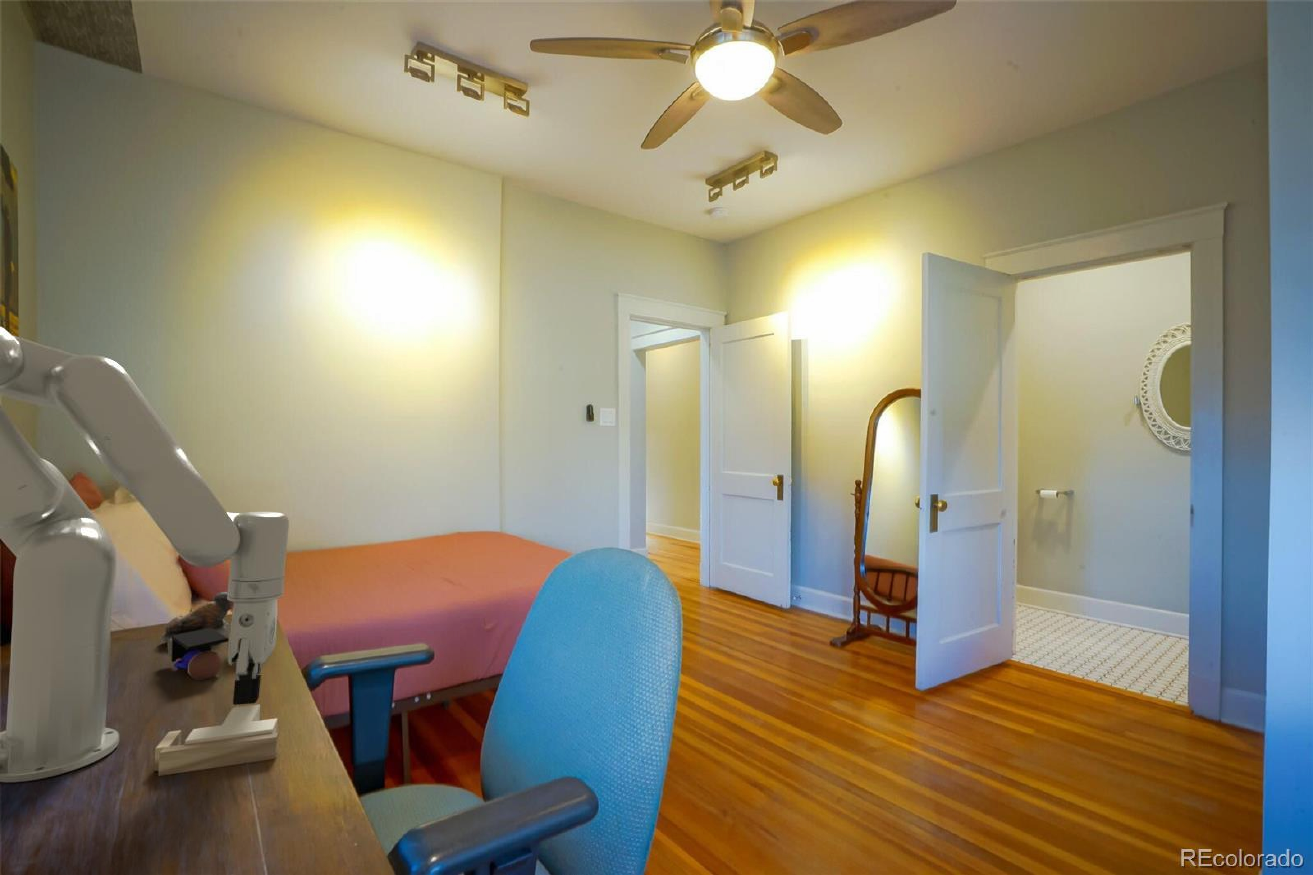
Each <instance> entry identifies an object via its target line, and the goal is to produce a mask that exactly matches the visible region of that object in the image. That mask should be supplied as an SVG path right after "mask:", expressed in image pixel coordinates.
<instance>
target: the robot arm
mask: <svg viewBox="0 0 1313 875" xmlns="http://www.w3.org/2000/svg"><path fill="white" fill-rule="evenodd" d="M0 396H3V397H8V398H12V399H14V400H17V401H21V402H22V401H23V402H26V403H29V404H33V405H36V406H37V405H39V406H42V407H47V408H49V409H50V408H51V409H55V410H60V411H62V412H63V414H64V415H65V416H66V417H67V419H68V420H69V421H70V422H71V423H72V425H73V426H74V427H75V429H76V430H77V431H78V433H79V434H80V435H81V436H82V438H83V439H84V440H85V442H86V443H87V444H88V445H89V447H90V448H91V449H92V451H93V452H94V453H95V455H96V456H97V458H99V460H100V461H101V463H102V464H103V465H104V466H105V468H106V469H107V470H108V471H109V473H110V474H111V475H112V476H113V478H114V479H115V480H116V481H117V483H118V484H120V485H121V486H122V488H124V489H125V491H128V493H129V494H130V495H131V496H133V498H134V499H136V501H137V502H138V503H139V504H140V505H141V506H142V508H143V509H144V510H145V511H146V513H147V514H148V515H149V516H150V517H151V519H152V521H154V522H155V524H156V525H157V526H158V528H159V529H160V531H161V532H162V533H163V535H164V536H165V537H166V538H167V540H168V541H169V542H170V544H171V546H172V548H173V549H174V550H175V552H176V553H177V554H178V555H179V556H180V558H182V560H184V561H185V562H186V563H188V564H190V565H192V566H195V567H203V568H205V567H206V568H210V567H216V566H219V565H220V564H223V563H225V562H227V561H229V559H230V563H229V564H230V565H229V576H228V584H227V592H228V596H227V599H228V600H229V601H232V602H231V603H233V607H232V614H231V623H230V631H229V637H228V648H227V649H228V650H227V651H228V652H227V663H228V665H230V666H232V667H233V666H235V665H236V666H235V679H234V686H233V698H232V704H233V705H234V706H237V705H239V706H240V705H251V704H255V703H257V701H258V700H259V698H260V690H261V689H260V688H261V678H262V675H261V673H262V672H261V670H262V664H263V663H265V662H266V661H267V660H268V658H269V657H270V656H271V654H272V653H273V651H274V650H275V647H276V644H277V642H276V641H277V625H278V624H277V623H278V600H279V599H280V598H282V597H283V594H284V584H285V575H286V574H285V571H286V562H287V550H288V549H287V548H288V539H289V528H290V527H289V526H290V521H289V518H288V516H287V515H286V514H284V513H282V512H275V511H249V512H243V513H237V512H235V513H234V512H227V511H226V509H225V508H224V506H223V505H222V503H221V502H220V501H219V500H218V498H217V497H216V495H215V493H213V491H212V490H211V488H210V487H209V485H207V483H206V482H205V481H204V479H203V478H202V477H201V475H200V474H199V472H198V471H197V470H196V467H195V466H194V465H193V464H192V462H191V460H190V459H189V457H188V456H187V454H186V453H185V451H184V450H183V449H182V446H180V445H179V443H178V441H177V440H176V439H175V437H174V436H173V434H172V433H171V432H170V430H169V429H168V428H167V426H166V425H165V424H164V422H163V421H162V420H161V418H160V417H159V416H158V414H157V413H156V411H155V410H154V409H153V407H152V406H151V404H150V403H149V401H148V400H147V398H146V396H144V394H143V393H142V391H141V389H140V388H138V386H137V385H136V383H135V381H134V380H133V379H132V377H131V375H130V374H128V372H127V371H126V370H125V368H124V367H122V366H121V365H120V364H118V362H116V361H114V360H112V359H110V358H108V357H105V356H100V355H98V354H97V355H96V354H95V355H94V354H81V355H79V354H78V355H77V354H74V353H70V352H67V351H64V350H61V349H57V348H53V347H50V346H49V345H48V346H46V345H44V344H41V343H37V342H34V341H32V340H28V339H25V338H22V337H20V336H16V335H12V334H11V333H10V332H8V330H6V329H5V328H4V327H2V326H0ZM0 540H1V541H2V542H3V543H4V544H5V546H6V547H7V548H8V549H9V550H10V551H11V553H13V555H14V556H15V557H16V560H15V564H14V569H13V570H14V571H13V584H12V585H13V588H12V591H13V592H12V593H13V594H12V595H13V596H12V624H11V625H12V626H11V639H10V640H11V641H10V642H11V643H10V664H9V681H8V696H7V714H6V727H5V730H3V731H0V783H23V782H31V781H37V780H42V779H47V778H50V777H55V776H58V775H61V774H65V773H68V772H72V771H75V770H78V769H80V768H83V767H87V766H88V765H90V764H93V763H95V762H96V761H99V760H101V759H102V758H104V757H105V756H108V755H109V754H110V753H112V752H113V751H114V750H115V748H116V749H117V747H118V745H119V743H120V733H119V731H117V730H116V729H114V728H109V727H106V720H107V719H106V717H107V702H108V701H107V700H108V699H107V698H108V684H109V668H110V666H109V665H110V664H109V663H110V651H111V650H110V649H111V648H110V647H111V628H112V627H111V625H112V612H113V597H114V588H115V580H116V579H115V578H116V572H117V554H116V548H115V546H114V543H113V540H112V538H111V537H110V535H109V533H108V531H107V530H106V529H105V528H104V526H103V525H102V524H101V523H100V521H99V520H98V518H97V517H96V516H95V515H94V513H93V512H92V511H91V509H90V508H89V507H88V506H87V504H86V503H85V502H84V501H83V500H82V498H81V496H79V494H78V493H77V491H76V490H75V489H74V487H73V486H72V485H71V484H70V482H69V481H68V480H67V478H66V477H65V475H63V472H61V471H60V470H59V469H58V467H56V466H55V465H54V464H52V463H51V462H49V461H48V460H46V459H44V458H41V456H40V455H39V454H38V453H37V451H35V449H34V448H33V447H32V446H31V444H29V442H28V441H27V439H26V438H25V437H24V436H23V435H22V433H21V432H20V430H19V429H18V427H17V426H16V425H15V423H14V421H13V420H12V419H11V418H10V417H9V415H8V414H7V413H6V411H5V410H4V408H2V406H1V405H0Z"/></svg>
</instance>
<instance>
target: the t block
mask: <svg viewBox="0 0 1313 875" xmlns="http://www.w3.org/2000/svg"><path fill="white" fill-rule="evenodd" d="M260 713H261V704H253V705H251V704H250V705H243V706H237V707H236V706H235V707H231V710H230V712H229V713H228V714H227V717H226V718H225V720H224V721H223V722H222V724H220V725H214V726H213V725H212V726H206V727H199V728H193V729H192V731H191V732H190V733H189V735H188V736H187V738H186V739H185V740H184V744H192V743H199V742H207V741H214V740H222V739H229V738H237V737H244V736H252V735H260V734H267V733H275V732H278V718H269V719H262V720H260V715H261V714H260Z"/></svg>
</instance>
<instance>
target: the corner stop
mask: <svg viewBox="0 0 1313 875" xmlns="http://www.w3.org/2000/svg"><path fill="white" fill-rule="evenodd" d="M279 733H280V732H279V731H277V732H275V733H267V734H260V735H252V736H244V737H237V738H229V739H222V740H214V741H207V742H199V743H192V744H185V743H184V744H182V742H181V741H182V729H181V730H173V731H168V732H167V733H166V735H165V736H164V737H163V739H161V741H160V742H159V743H158V744H157V746H156V747H155V753H154V770H153V771H154V772H157V771H158V777H159V776H168V775H174V774H179V773H180V774H181V773H185V772H186V773H187V772H195V771H200V770H208V769H215V768H222V767H227V766H236V765H241V764H249V763H256V762H261V761H262V762H263V761H270V760H275V759H276V758H277V756H276V755H278V754H279V753H278V752H279V751H278V749H279Z"/></svg>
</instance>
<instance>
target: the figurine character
mask: <svg viewBox="0 0 1313 875" xmlns="http://www.w3.org/2000/svg"><path fill="white" fill-rule="evenodd" d="M222 643H229V637H227V636H226V635H222V634H220V633H219V632H217V631H215V630H213V629H212V628H207V629H202V630H197V631H192V632H188V633H183V634H178V635H173V636H172V638H171V639H169V640H168V642H167V652H168V656H169V657H170V658H171V663H173V667H174V668H180V669H181V668H182V669H183V670H186V669H187V673H188V674H189V676H190V677H191V678H193V679H195V680H199V681H202V680H203V681H204V680H205V681H206V680H209V679H212V678H213V677H214V676H216V675H217V674H218V673H220V671H221V669H222V667H223V662H224V660H223V657H222V655H221V654H220V653H219V652H217V651H214V650H212V646H214V645H219V644H222Z"/></svg>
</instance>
